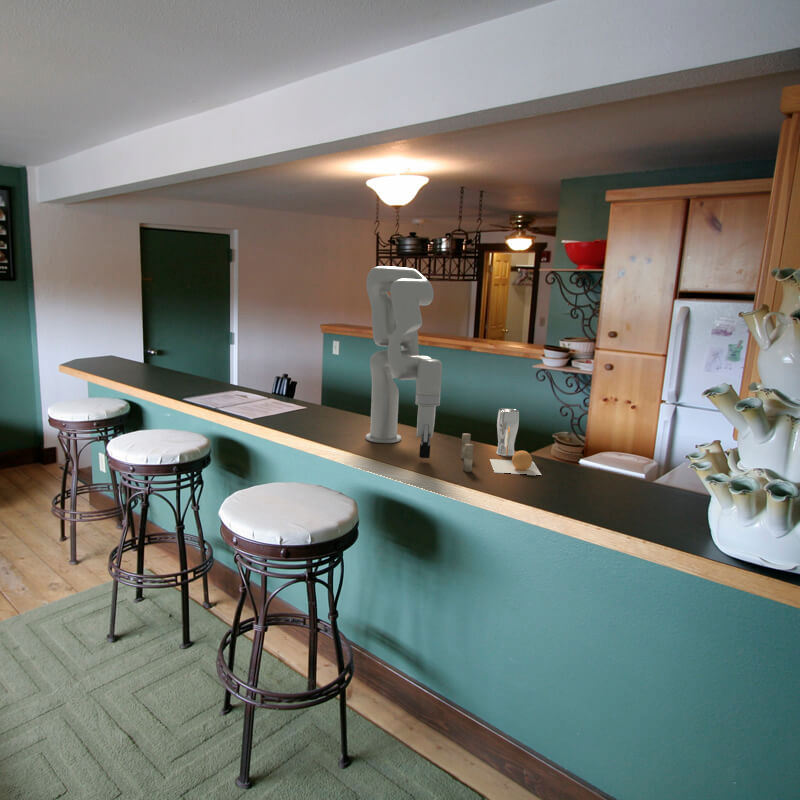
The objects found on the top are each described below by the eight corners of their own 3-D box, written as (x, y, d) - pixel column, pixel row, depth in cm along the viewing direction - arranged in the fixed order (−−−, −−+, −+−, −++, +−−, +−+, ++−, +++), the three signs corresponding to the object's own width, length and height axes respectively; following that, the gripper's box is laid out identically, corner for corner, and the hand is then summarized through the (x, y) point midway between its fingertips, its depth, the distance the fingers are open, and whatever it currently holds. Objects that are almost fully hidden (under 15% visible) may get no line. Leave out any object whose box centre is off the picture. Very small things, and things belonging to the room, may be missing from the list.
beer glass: (500, 457, 186) (503, 412, 184) (491, 451, 193) (494, 408, 190) (519, 456, 188) (523, 412, 185) (510, 450, 195) (513, 408, 192)
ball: (533, 465, 176) (514, 470, 177) (528, 446, 175) (509, 451, 176) (535, 469, 170) (515, 474, 171) (529, 450, 169) (510, 455, 170)
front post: (462, 469, 171) (464, 443, 170) (471, 469, 171) (473, 444, 170) (463, 471, 169) (464, 445, 167) (471, 472, 169) (473, 446, 167)
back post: (460, 457, 184) (462, 433, 183) (468, 457, 184) (470, 433, 183) (461, 459, 182) (462, 435, 180) (469, 459, 182) (470, 435, 180)
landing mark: (489, 459, 183) (489, 459, 183) (533, 462, 182) (533, 461, 182) (494, 472, 169) (494, 472, 169) (541, 475, 169) (541, 475, 168)
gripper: (416, 394, 181) (413, 450, 184) (414, 403, 166) (411, 463, 170) (439, 395, 181) (436, 451, 184) (440, 404, 166) (436, 465, 169)
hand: (424, 457), depth 177 cm, fingers closed
